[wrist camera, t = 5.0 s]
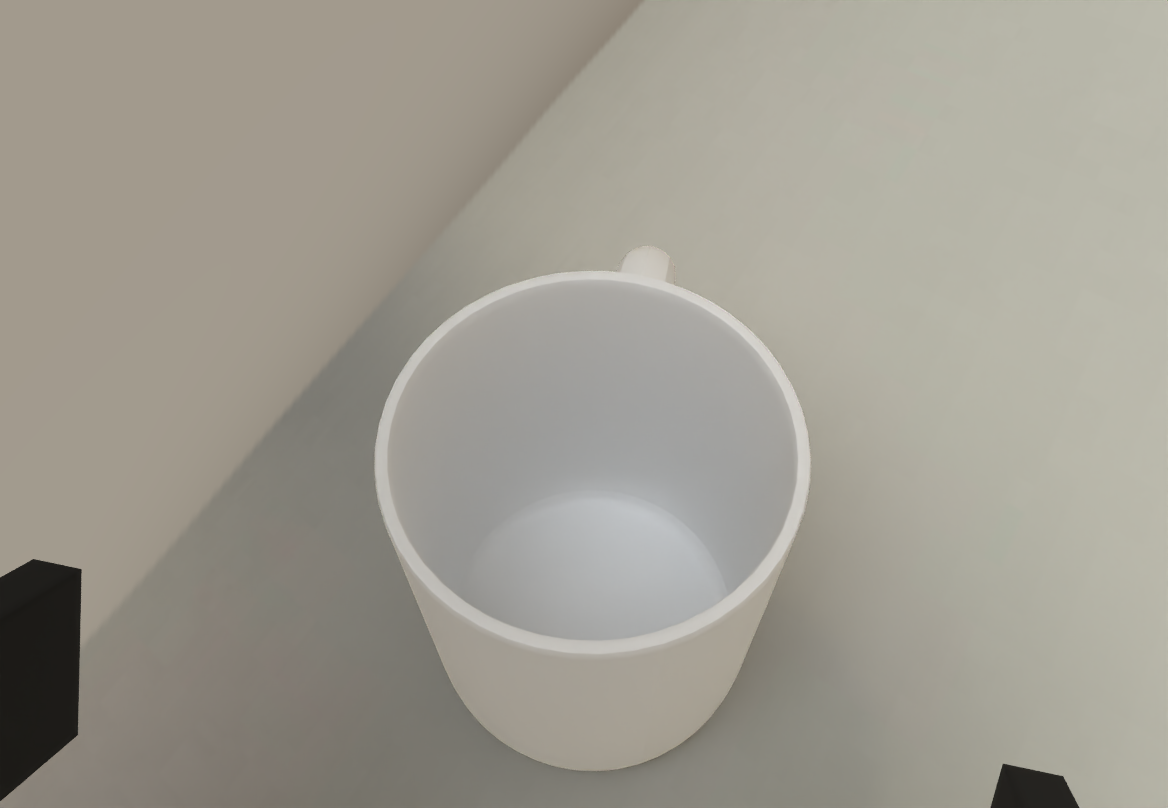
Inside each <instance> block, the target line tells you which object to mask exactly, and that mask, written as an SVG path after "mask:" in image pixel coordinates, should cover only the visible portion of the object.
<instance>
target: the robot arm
mask: <svg viewBox="0 0 1168 808" xmlns="http://www.w3.org/2000/svg"><path fill="white" fill-rule="evenodd" d="M80 613H81V569H78V568H73V567H68V566H64V565H59V564H54V563H49V562H44V561H40V560H35V559H33V560H31V561H29V562H27V563H26V564H24V565H22V566H20V567H19V568H17V569H15V570H13V571H11V572H9V573H8V574H6V575H4V576H2V577H0V801H1V800H2V799H3V798H5V797H6V796H7V795H8V794H9V793H10V792H12V791H13V790H14V789H15V788H16V787H17V786H19V785H20V784H21V783H22V782H23V781H25V780H26V779H27V778H28V777H29V776H30V775H32V774H33V773H34V772H35V771H36V770H37V769H39V768H40V767H41V766H42V765H43V764H44V763H46V762H47V761H48V760H49V759H50V758H51V757H53V756H54V755H55V754H56V753H57V752H58V751H60V750H61V749H62V748H63V747H64V746H65V745H67V744H68V743H69V742H70V741H71V740H72V739H74V738H75V737H76V736H77V735H78V702H79V658H80ZM991 808H1079V806H1078V804H1077V802H1076V800H1075V798H1074V797H1073V795H1072V793H1071V791H1070V789H1069V787H1068V785H1067V783H1066V781H1065V779H1064V777H1063V776H1059V775H1054V774H1049V773H1045V772H1040V771H1035V770H1030V769H1026V768H1021V767H1016V766H1011V765H1007V764H1003V765H1002V769H1001V772H1000V776H999V779H998V783H997V787H996V790H995V794H994V797H993V801H992V804H991Z"/></svg>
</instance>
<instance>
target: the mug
mask: <svg viewBox="0 0 1168 808" xmlns="http://www.w3.org/2000/svg"><path fill="white" fill-rule="evenodd" d="M675 280H676V275H675V266H674V264H673V262H672V259H671V257H670V256H668V255H667V254H666V253H665V252H664V251H663V250H661V249H658V248H656V247H653V246H640V247H638V248H635V249H633V250H631V251H629V252H628V254H627V255H626V256H625V257H624V258H623V259H622V260H621V262H620V263H619V265H618V267H617V270H616V272H612V271H576V272H563V273H556V274H551V275H545V276H540V277H535V278H531V279H528V280H525V281H521V282H518V283H515V284H511V285H509V286H506V287H504V288H502V289H499V290H497V291H494V292H492V293H490V294H487V295H485V296H484V297H482V298H480V299H478V300H477V301H475V302H473V303H471V304H469V305H468V306H466V307H464V308H463V309H461V310H460V311H459V312H457V313H456V314H454V315H453V316H452V317H450V318H449V319H448V320H446V321H445V322H444V323H443V324H441V325H440V326H439V327H438V328H437V329H436V330H435V331H434V332H433V333H432V334H431V335H430V336H428V337H427V338H426V339H425V341H424V342H423V343H422V344H421V345H420V347H419V348H418V349H417V350H416V351H415V352H414V354H413V355H412V356H411V357H410V359H409V360H408V362H407V363H406V365H405V366H404V368H403V370H402V371H401V373H400V374H399V376H398V377H397V379H396V381H395V383H394V385H393V388H392V390H391V392H390V394H389V396H388V398H387V400H386V403H385V406H384V409H383V412H382V416H381V419H380V422H379V425H378V431H377V438H376V444H375V450H374V478H375V486H376V493H377V500H378V504H379V507H380V511H381V514H382V517H383V521H384V524H385V527H386V530H387V532H388V534H389V537H390V539H391V541H392V544H393V546H394V549H395V551H396V553H397V556H398V558H399V561H400V563H401V565H402V568H403V570H404V573H405V575H406V577H407V580H408V582H409V584H410V587H411V589H412V592H413V594H414V596H415V599H416V601H417V604H418V606H419V608H420V611H421V613H422V616H423V618H424V620H425V623H426V625H427V627H428V630H429V632H430V635H431V637H432V639H433V642H434V644H435V647H436V649H437V651H438V654H439V656H440V659H441V661H442V663H443V666H444V668H445V670H446V672H447V674H448V676H449V678H450V680H451V683H452V685H453V687H454V689H455V690H456V692H457V693H458V695H459V696H460V698H461V699H462V701H463V702H464V704H465V706H466V707H467V708H468V710H469V711H470V712H471V713H472V714H473V715H474V717H475V718H476V719H477V720H478V721H479V722H480V724H481V725H482V726H483V727H484V728H486V729H487V730H488V731H489V732H490V733H491V734H493V735H494V736H495V737H496V738H497V739H498V740H500V741H501V742H503V743H505V744H506V745H508V746H509V747H511V748H512V749H514V750H515V751H517V752H519V753H521V754H523V755H526V756H528V757H530V758H532V759H534V760H536V761H539V762H542V763H545V764H548V765H552V766H555V767H559V768H565V769H571V770H577V771H605V770H615V769H621V768H625V767H630V766H634V765H638V764H641V763H643V762H646V761H648V760H651V759H654V758H656V757H659V756H661V755H662V754H664V753H666V752H668V751H669V750H671V749H673V748H675V747H677V746H678V745H680V744H681V743H682V742H684V741H685V740H686V739H688V738H689V737H690V736H692V735H693V734H694V733H696V732H697V731H698V730H699V729H700V728H701V727H702V726H703V725H704V724H705V723H706V722H707V721H708V719H709V718H710V717H711V716H712V715H713V713H714V712H715V711H716V709H717V708H718V707H719V705H720V704H721V703H722V701H723V700H724V699H725V697H726V696H727V694H728V692H729V690H730V688H731V686H732V685H733V683H734V681H735V679H736V677H737V675H738V673H739V671H740V668H741V666H742V664H743V661H744V659H745V656H746V654H747V652H748V649H749V647H750V644H751V642H752V640H753V637H754V635H755V633H756V630H757V628H758V625H759V623H760V621H761V618H762V616H763V614H764V611H765V609H766V606H767V604H768V602H769V599H770V597H771V594H772V592H773V590H774V587H775V585H776V583H777V580H778V578H779V575H780V573H781V571H782V568H783V566H784V564H785V561H786V559H787V556H788V554H789V552H790V549H791V547H792V545H793V542H794V540H795V537H796V535H797V532H798V529H799V527H800V524H801V521H802V519H803V516H804V513H805V509H806V504H807V499H808V495H809V490H810V479H811V452H810V441H809V435H808V430H807V426H806V422H805V418H804V414H803V411H802V408H801V406H800V403H799V401H798V398H797V396H796V393H795V391H794V388H793V386H792V385H791V383H790V381H789V379H788V378H787V376H786V374H785V372H784V371H783V369H782V367H781V365H780V364H779V363H778V362H777V360H776V359H775V358H774V356H773V355H772V354H771V352H770V351H769V350H768V348H767V347H766V346H765V345H764V344H763V343H762V342H761V341H760V340H759V339H758V338H757V337H756V336H755V335H754V334H753V333H752V332H751V331H750V330H749V329H748V328H747V327H746V326H745V325H744V324H742V323H741V322H740V321H739V320H737V319H736V318H735V317H734V316H732V315H731V314H730V313H728V312H727V311H725V310H724V309H722V308H720V307H719V306H717V305H716V304H714V303H712V302H711V301H709V300H707V299H705V298H703V297H701V296H699V295H697V294H695V293H693V292H691V291H689V290H686V289H684V288H681V287H679V286H676V285H675Z"/></svg>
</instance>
